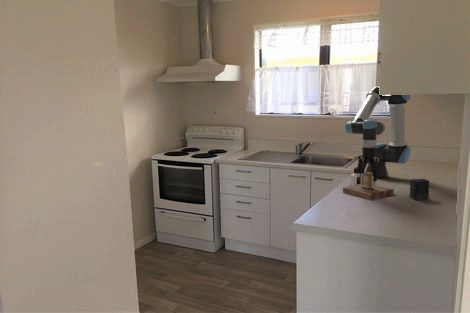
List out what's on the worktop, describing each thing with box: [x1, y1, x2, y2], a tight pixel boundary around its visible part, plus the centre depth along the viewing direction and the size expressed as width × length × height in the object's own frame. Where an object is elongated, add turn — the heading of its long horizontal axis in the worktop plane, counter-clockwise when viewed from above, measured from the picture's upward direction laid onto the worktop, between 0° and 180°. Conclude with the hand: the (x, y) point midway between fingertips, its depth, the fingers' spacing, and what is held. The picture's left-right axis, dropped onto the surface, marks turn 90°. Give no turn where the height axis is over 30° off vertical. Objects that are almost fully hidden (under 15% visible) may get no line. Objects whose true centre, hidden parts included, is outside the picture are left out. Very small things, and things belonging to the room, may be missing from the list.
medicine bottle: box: [350, 166, 361, 186], centre depth 244 cm, size 7×7×12 cm
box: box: [409, 178, 430, 201], centre depth 213 cm, size 8×6×11 cm
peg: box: [364, 171, 372, 190], centre depth 227 cm, size 4×4×12 cm
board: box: [342, 184, 395, 200], centre depth 227 cm, size 20×20×3 cm
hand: (367, 185), depth 227 cm, fingers open, 7 cm apart
